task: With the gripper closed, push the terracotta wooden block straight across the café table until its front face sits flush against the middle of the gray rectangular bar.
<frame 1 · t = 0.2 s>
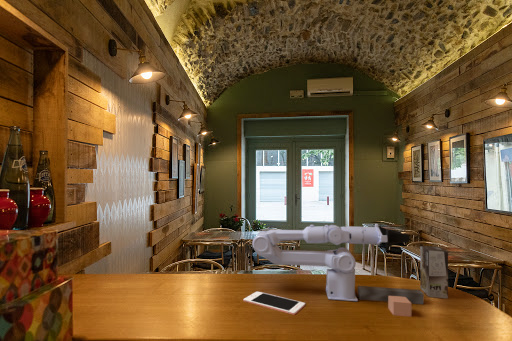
hand: (404, 236, 100), 21 cm above the bar counter, tool horizontal, fingers open, 7 cm apart
block: (399, 312, 91), on the bar counter
cell phone: (273, 304, 96), on the bar counter
coffee box: (433, 293, 108), on the bar counter
gray rectangular bar: (389, 300, 101), on the bar counter
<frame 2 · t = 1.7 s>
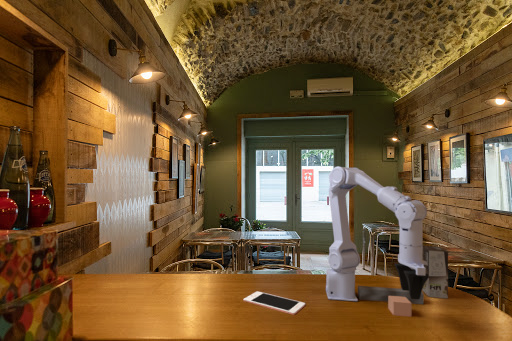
hand: (410, 294, 83), 8 cm above the bar counter, tool pointing down, fingers open, 6 cm apart
nothing on the bar counter moved.
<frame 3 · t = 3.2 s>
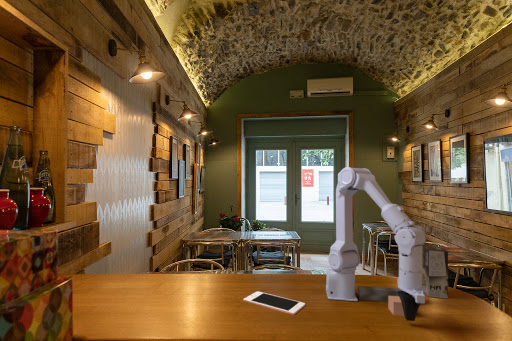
hand: (409, 319, 83), 1 cm above the bar counter, tool pointing down, fingers closed
nothing on the bar counter moved.
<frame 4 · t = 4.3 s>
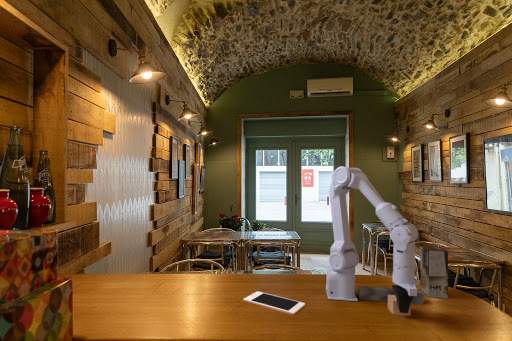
hand: (403, 312, 88), 1 cm above the bar counter, tool pointing down, fingers closed
block: (398, 311, 92), on the bar counter, touching gripper
everything else where it was.
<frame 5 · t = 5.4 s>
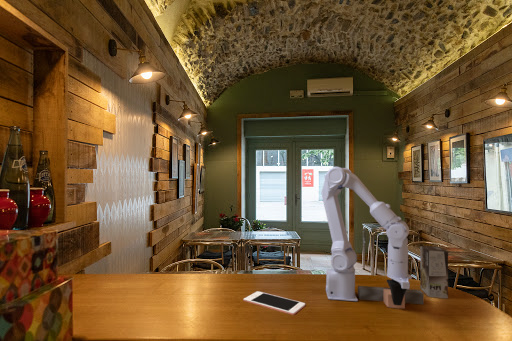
hand: (397, 304, 93), 1 cm above the bar counter, tool pointing down, fingers closed
block: (393, 304, 97), on the bar counter, touching gray rectangular bar, gripper
everything else where it was.
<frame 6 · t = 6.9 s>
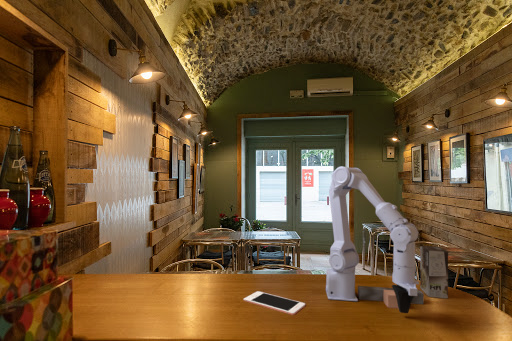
hand: (403, 312, 88), 1 cm above the bar counter, tool pointing down, fingers closed
block: (393, 305, 97), on the bar counter
everything else where it was.
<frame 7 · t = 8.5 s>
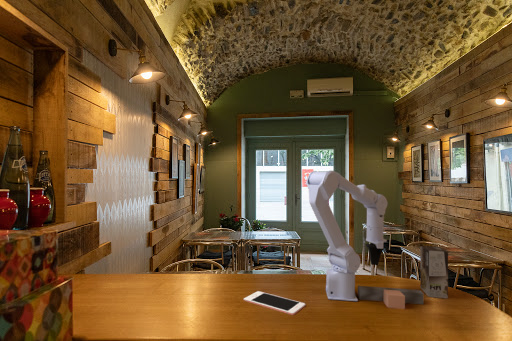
hand: (374, 264, 109), 9 cm above the bar counter, tool pointing down, fingers closed
nothing on the bar counter moved.
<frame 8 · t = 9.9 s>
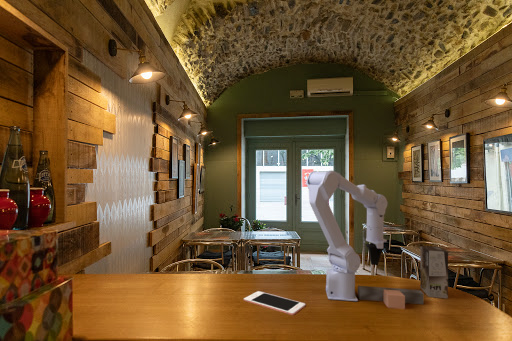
hand: (374, 264, 109), 9 cm above the bar counter, tool pointing down, fingers closed
nothing on the bar counter moved.
at the end: block 0.2 cm from the target spot on the bar counter beside the gray rectangular bar, on the bar counter; block tilted 0° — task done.
